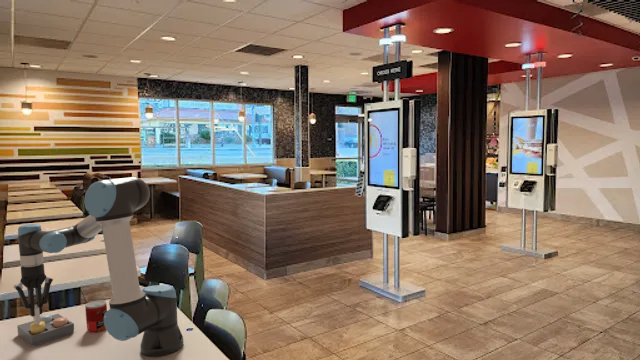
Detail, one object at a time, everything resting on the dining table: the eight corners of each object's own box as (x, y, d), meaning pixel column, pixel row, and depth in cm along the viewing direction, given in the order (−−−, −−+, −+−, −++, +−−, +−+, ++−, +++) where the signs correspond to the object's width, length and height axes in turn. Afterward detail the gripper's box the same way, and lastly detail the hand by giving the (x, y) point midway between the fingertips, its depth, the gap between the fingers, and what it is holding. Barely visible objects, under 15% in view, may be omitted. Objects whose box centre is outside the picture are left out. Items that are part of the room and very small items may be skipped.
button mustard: (47, 331, 173) (46, 323, 173) (33, 336, 170) (32, 327, 169) (42, 328, 177) (42, 320, 176) (29, 333, 173) (28, 324, 173)
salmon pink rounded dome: (69, 327, 180) (68, 319, 179) (56, 331, 176) (55, 323, 176) (64, 324, 183) (64, 316, 182) (52, 328, 179) (51, 320, 179)
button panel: (74, 332, 180) (73, 323, 179) (32, 346, 168) (31, 336, 168) (58, 322, 190) (57, 313, 190) (18, 335, 179) (17, 325, 178)
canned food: (99, 333, 178) (97, 307, 177) (82, 332, 180) (80, 306, 179) (112, 325, 186) (110, 300, 185) (95, 324, 187) (93, 299, 186)
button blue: (54, 323, 184) (53, 315, 183) (41, 327, 180) (40, 319, 179) (49, 321, 187) (49, 313, 186) (37, 324, 183) (36, 316, 183)
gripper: (47, 258, 178) (51, 315, 180) (9, 266, 168) (14, 326, 170) (54, 262, 173) (59, 320, 175) (15, 270, 163) (21, 331, 166)
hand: (37, 323), depth 173 cm, fingers closed
